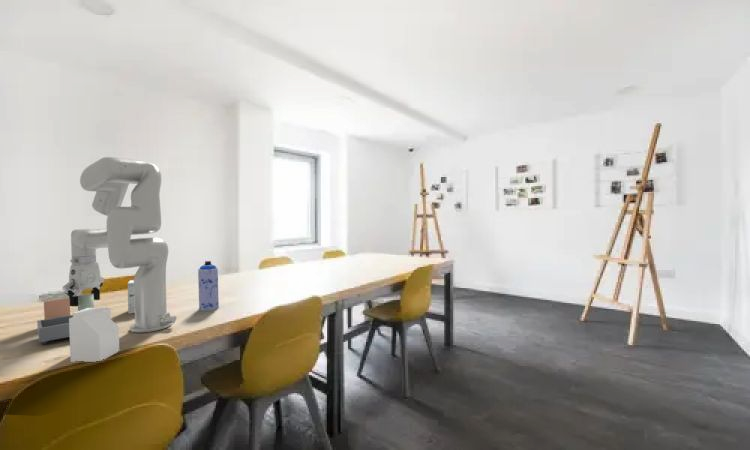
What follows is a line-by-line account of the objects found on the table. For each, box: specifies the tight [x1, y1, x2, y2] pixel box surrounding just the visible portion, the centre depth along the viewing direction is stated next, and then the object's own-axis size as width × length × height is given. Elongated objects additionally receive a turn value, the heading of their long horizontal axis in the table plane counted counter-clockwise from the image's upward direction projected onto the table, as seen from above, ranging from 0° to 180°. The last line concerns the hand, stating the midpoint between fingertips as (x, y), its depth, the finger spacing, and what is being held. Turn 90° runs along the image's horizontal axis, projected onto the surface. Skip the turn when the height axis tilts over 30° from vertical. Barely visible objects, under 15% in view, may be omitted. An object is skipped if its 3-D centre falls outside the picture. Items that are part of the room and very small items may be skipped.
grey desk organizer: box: [36, 297, 73, 345], centre depth 121 cm, size 27×12×9 cm, turn 46°
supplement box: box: [127, 279, 135, 315], centre depth 147 cm, size 7×7×13 cm
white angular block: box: [69, 307, 120, 363], centre depth 102 cm, size 11×11×12 cm
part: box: [77, 293, 95, 311], centre depth 141 cm, size 5×5×8 cm
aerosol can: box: [197, 260, 220, 312], centre depth 149 cm, size 8×8×20 cm
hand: (85, 302), depth 142 cm, fingers open, 9 cm apart
